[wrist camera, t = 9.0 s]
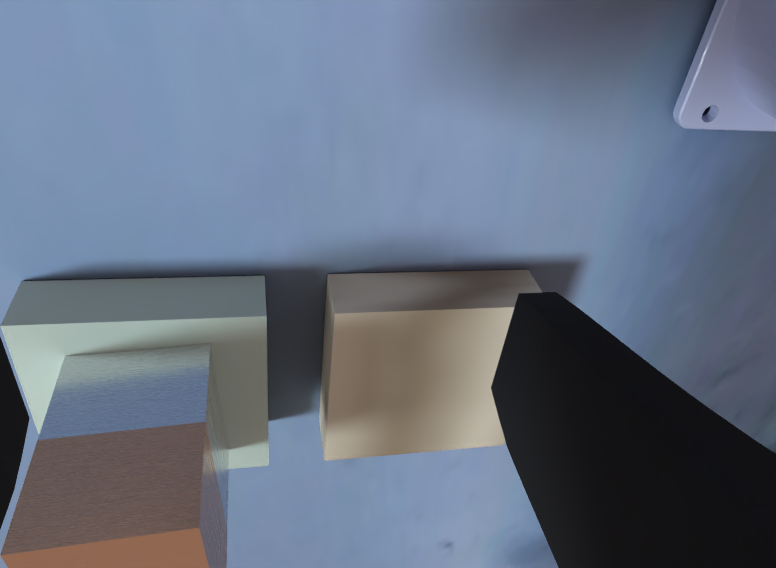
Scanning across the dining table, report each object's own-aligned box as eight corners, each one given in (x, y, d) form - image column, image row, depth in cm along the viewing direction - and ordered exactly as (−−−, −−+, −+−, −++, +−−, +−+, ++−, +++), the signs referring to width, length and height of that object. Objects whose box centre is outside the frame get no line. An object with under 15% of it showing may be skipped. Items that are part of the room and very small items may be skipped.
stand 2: (528, 269, 21) (551, 306, 20) (487, 406, 26) (503, 445, 24) (327, 274, 20) (334, 313, 18) (319, 418, 24) (324, 460, 23)
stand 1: (264, 275, 20) (266, 316, 18) (267, 422, 24) (268, 465, 22) (21, 281, 18) (0, 326, 16) (69, 436, 22) (56, 483, 21)
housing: (228, 449, 21) (225, 631, 17) (105, 464, 21) (65, 657, 16) (210, 342, 18) (198, 527, 14) (64, 355, 17) (0, 555, 13)
